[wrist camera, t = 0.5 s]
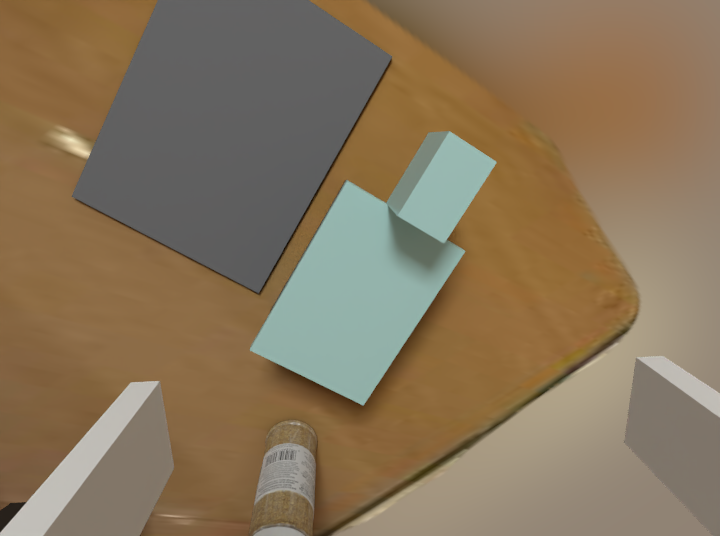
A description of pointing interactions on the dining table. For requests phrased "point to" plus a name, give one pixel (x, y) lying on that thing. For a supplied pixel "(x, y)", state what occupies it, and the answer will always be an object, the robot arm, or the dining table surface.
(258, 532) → the sprinkles bottle
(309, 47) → the mat
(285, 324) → the block with upright tab
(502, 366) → the dining table surface
